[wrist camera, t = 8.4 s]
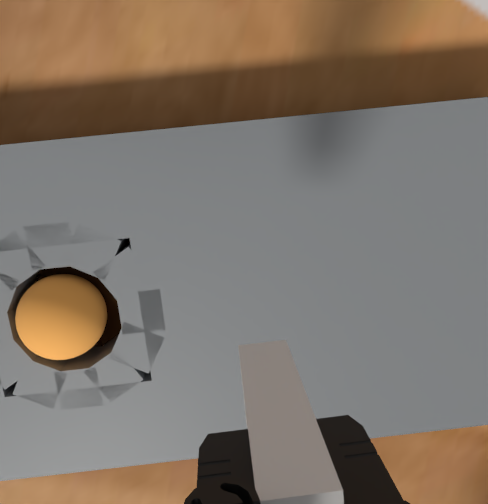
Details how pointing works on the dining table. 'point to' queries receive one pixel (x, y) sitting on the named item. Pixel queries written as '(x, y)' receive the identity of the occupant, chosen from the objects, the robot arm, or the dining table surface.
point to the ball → (61, 316)
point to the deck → (249, 278)
